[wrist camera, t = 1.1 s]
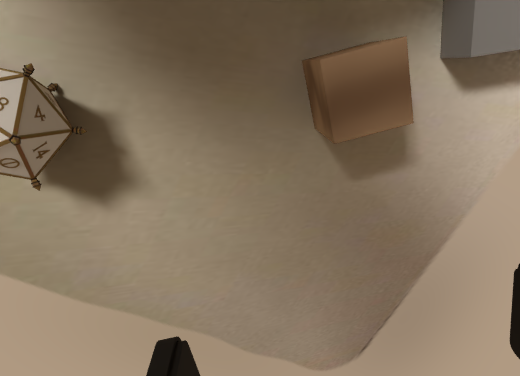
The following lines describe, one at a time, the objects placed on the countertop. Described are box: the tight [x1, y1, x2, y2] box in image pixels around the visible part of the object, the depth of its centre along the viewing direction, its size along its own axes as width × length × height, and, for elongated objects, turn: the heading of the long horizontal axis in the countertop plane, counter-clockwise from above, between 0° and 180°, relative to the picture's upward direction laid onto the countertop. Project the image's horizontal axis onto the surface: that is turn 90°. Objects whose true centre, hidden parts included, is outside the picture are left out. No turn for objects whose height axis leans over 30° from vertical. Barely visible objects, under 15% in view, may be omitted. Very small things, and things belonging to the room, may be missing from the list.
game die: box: [0, 63, 87, 191], centre depth 22 cm, size 9×8×10 cm
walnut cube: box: [302, 37, 413, 144], centre depth 24 cm, size 6×6×6 cm
